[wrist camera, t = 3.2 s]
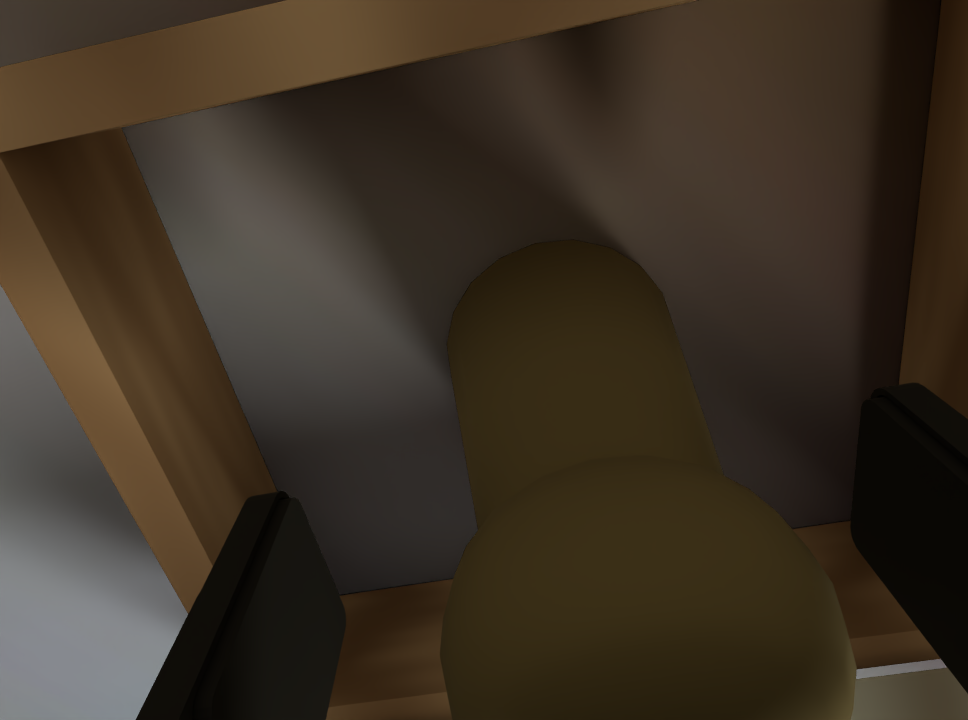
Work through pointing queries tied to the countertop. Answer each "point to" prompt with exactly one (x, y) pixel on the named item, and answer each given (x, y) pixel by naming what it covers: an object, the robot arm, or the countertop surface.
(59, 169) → the cold frame
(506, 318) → the cork
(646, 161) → the countertop surface
